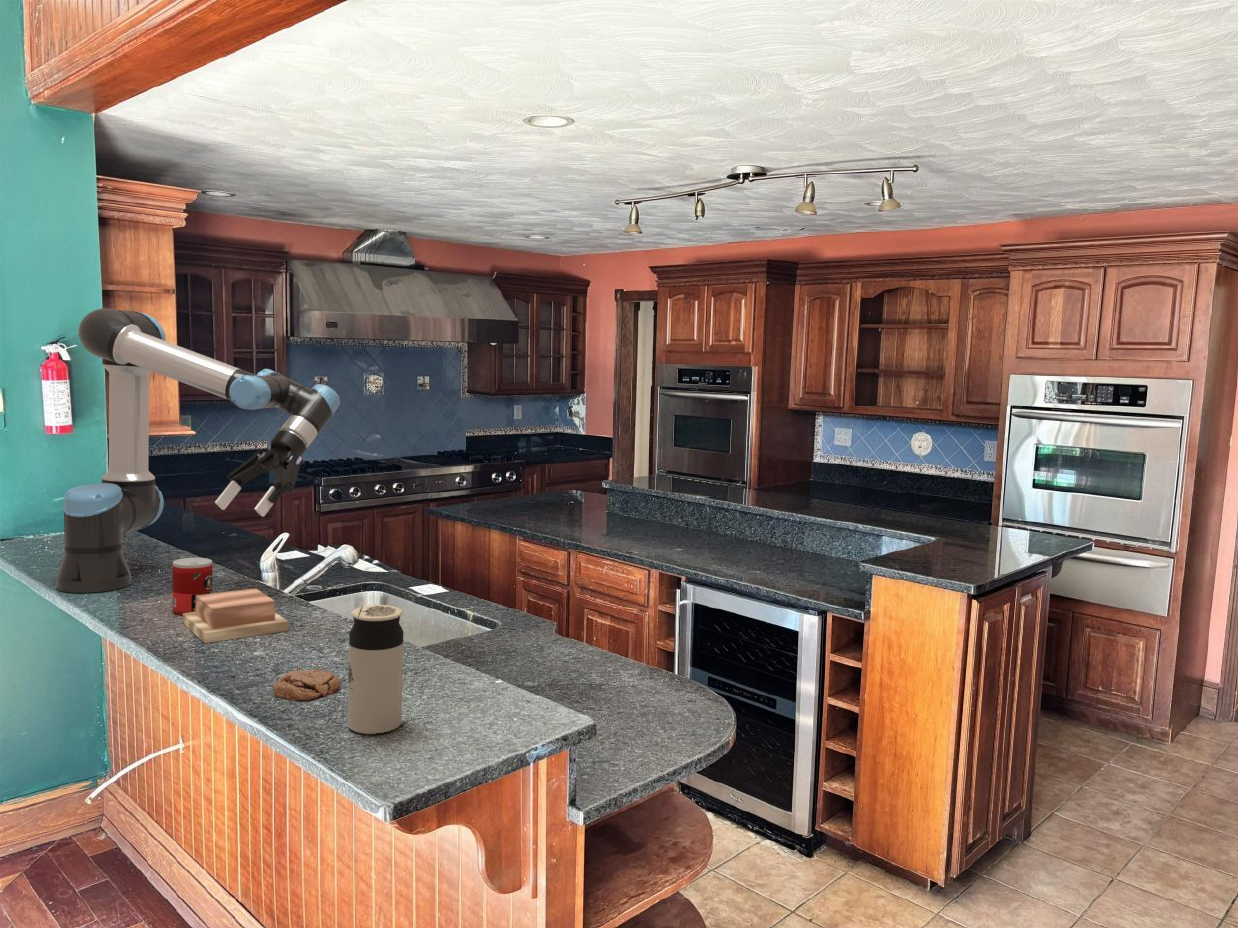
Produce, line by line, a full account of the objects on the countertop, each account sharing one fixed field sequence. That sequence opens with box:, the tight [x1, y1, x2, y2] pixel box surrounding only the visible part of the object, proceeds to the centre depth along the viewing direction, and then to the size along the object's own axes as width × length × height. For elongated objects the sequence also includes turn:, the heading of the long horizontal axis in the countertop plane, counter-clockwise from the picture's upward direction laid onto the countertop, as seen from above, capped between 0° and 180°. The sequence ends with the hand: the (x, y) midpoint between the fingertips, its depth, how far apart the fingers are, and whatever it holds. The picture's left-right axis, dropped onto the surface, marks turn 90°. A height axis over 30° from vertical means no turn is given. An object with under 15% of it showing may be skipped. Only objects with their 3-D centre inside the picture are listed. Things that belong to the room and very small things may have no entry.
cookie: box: [273, 669, 341, 701], centre depth 150 cm, size 10×11×3 cm
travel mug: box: [347, 604, 405, 735], centre depth 136 cm, size 8×8×18 cm
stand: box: [182, 587, 289, 644], centre depth 183 cm, size 16×16×6 cm
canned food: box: [171, 557, 213, 616], centre depth 192 cm, size 8×8×11 cm
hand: (238, 509), depth 199 cm, fingers open, 13 cm apart
